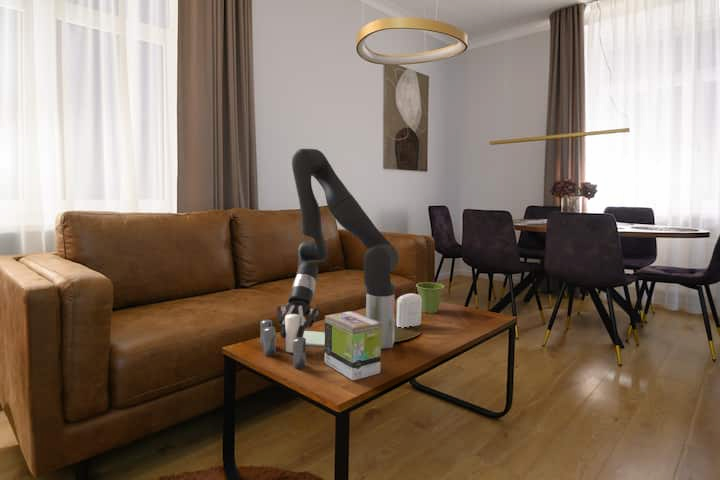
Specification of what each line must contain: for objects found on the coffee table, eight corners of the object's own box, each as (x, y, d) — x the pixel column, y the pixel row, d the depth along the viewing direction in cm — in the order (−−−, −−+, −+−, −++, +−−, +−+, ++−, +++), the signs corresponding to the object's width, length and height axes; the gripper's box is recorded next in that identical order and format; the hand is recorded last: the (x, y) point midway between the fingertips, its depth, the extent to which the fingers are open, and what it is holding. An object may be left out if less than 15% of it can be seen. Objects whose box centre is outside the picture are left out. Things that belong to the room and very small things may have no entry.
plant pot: (409, 310, 185) (410, 284, 184) (427, 306, 193) (427, 281, 192) (431, 317, 177) (432, 289, 175) (449, 311, 185) (450, 285, 183)
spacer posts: (344, 349, 140) (344, 325, 139) (330, 371, 122) (331, 344, 121) (263, 342, 145) (263, 319, 144) (239, 363, 127) (238, 336, 126)
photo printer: (415, 322, 169) (416, 291, 168) (422, 325, 166) (423, 293, 164) (394, 326, 164) (395, 294, 162) (401, 329, 160) (402, 296, 159)
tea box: (381, 373, 122) (382, 321, 120) (352, 382, 116) (352, 328, 114) (351, 356, 134) (352, 309, 132) (323, 363, 128) (323, 314, 127)
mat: (334, 334, 154) (334, 333, 154) (325, 346, 142) (325, 344, 142) (301, 332, 156) (301, 330, 156) (290, 343, 144) (290, 341, 144)
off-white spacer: (302, 347, 140) (301, 314, 138) (297, 353, 135) (297, 318, 134) (288, 346, 140) (288, 313, 139) (283, 352, 136) (283, 317, 135)
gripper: (279, 283, 144) (265, 330, 134) (321, 285, 141) (310, 334, 131) (285, 295, 150) (272, 341, 140) (325, 297, 147) (315, 344, 137)
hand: (290, 337), depth 135 cm, fingers closed on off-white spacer, 4 cm apart
